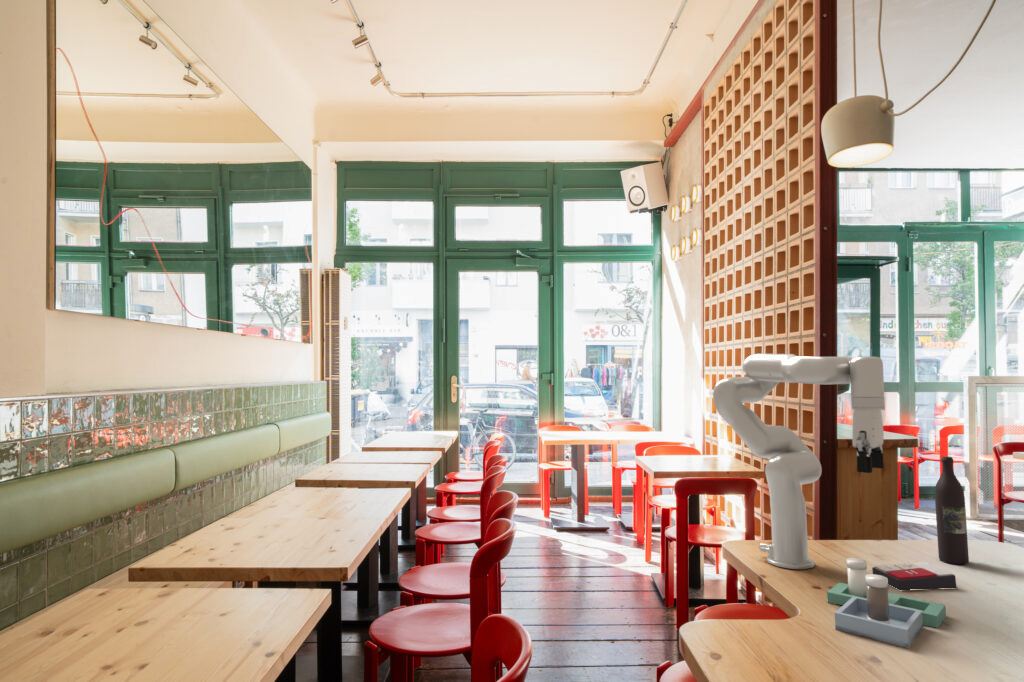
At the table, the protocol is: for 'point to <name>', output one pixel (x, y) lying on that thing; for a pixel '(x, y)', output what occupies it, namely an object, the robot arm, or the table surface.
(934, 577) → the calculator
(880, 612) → the fuse
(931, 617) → the block
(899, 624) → the parts tray
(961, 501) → the wine bottle
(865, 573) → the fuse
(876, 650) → the table surface
